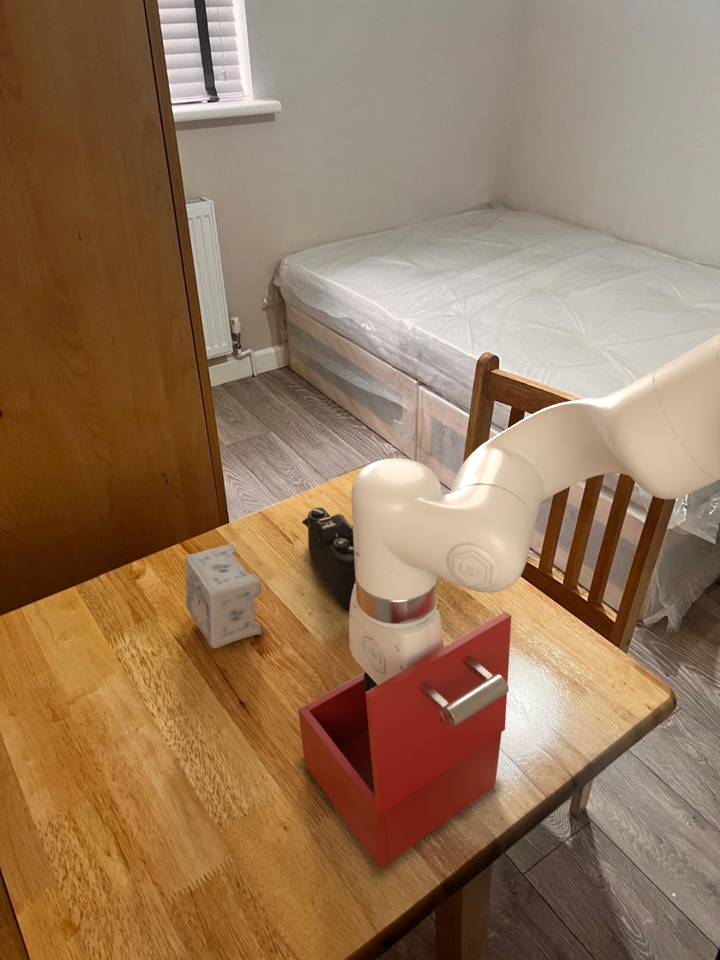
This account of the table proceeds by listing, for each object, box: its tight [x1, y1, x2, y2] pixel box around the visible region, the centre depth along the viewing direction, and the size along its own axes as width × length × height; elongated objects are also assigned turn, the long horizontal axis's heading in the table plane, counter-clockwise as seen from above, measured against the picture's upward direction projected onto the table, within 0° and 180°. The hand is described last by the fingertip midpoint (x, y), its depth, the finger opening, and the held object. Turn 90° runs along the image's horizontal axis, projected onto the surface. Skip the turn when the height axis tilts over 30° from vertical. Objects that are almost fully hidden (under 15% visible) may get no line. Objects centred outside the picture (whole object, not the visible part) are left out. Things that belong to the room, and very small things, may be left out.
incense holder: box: [184, 543, 262, 649], centre depth 101 cm, size 10×8×10 cm
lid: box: [366, 611, 512, 814], centre depth 66 cm, size 16×16×6 cm
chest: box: [297, 671, 503, 870], centre depth 80 cm, size 15×16×10 cm
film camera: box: [301, 507, 356, 611], centre depth 109 cm, size 18×12×10 cm
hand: (398, 713), depth 76 cm, fingers open, 6 cm apart
